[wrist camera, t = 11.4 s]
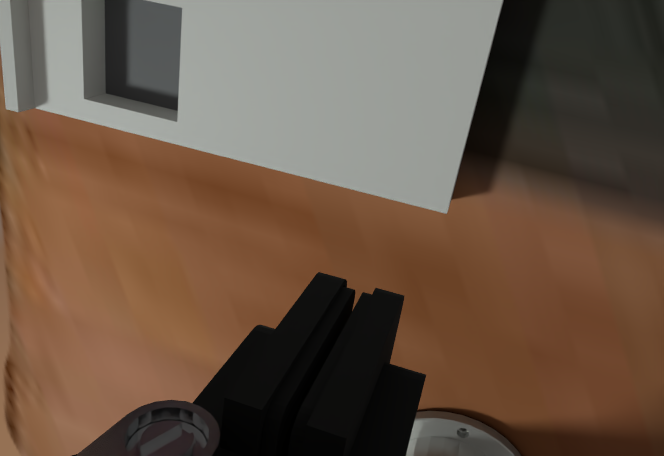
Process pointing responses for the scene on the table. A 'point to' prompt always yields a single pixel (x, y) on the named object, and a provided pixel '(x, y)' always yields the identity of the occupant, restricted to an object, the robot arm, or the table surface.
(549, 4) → the table surface
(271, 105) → the trap board
